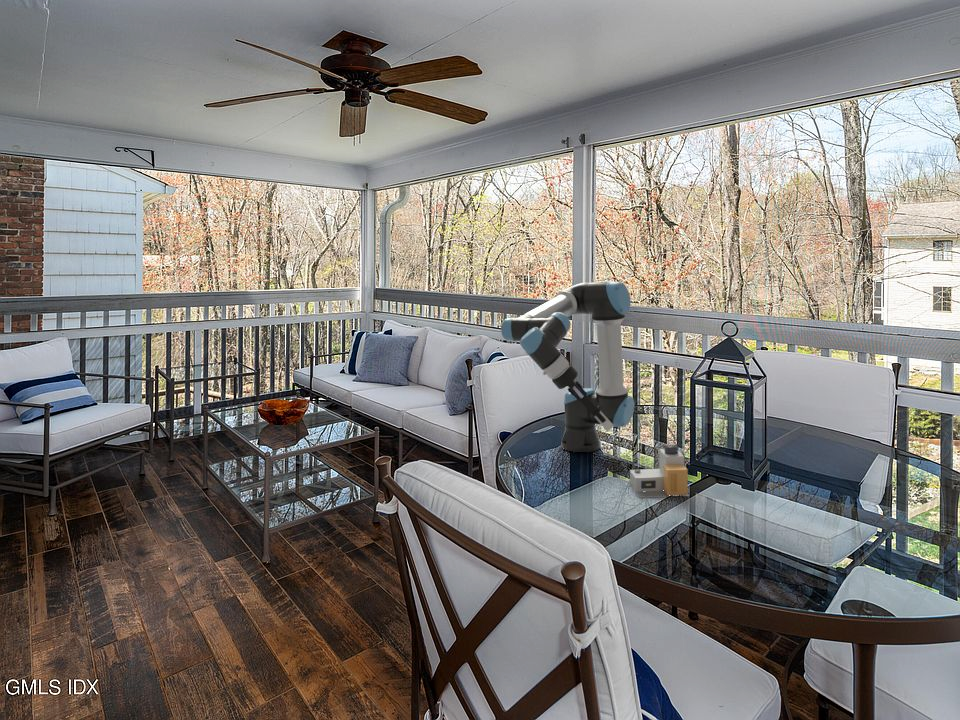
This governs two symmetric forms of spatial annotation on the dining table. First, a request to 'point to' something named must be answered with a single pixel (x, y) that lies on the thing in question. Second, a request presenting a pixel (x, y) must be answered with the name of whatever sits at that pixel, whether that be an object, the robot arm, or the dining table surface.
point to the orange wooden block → (675, 479)
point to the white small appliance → (655, 474)
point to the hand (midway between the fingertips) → (610, 428)
